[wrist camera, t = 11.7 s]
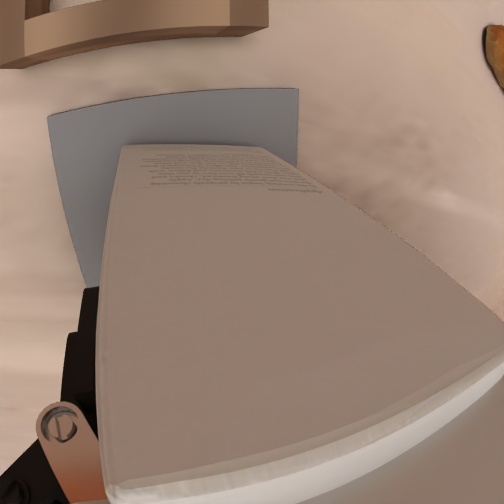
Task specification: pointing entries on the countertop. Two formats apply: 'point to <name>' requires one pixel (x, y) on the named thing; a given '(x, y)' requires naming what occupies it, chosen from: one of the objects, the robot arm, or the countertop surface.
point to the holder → (116, 25)
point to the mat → (155, 132)
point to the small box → (267, 334)
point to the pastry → (496, 51)
